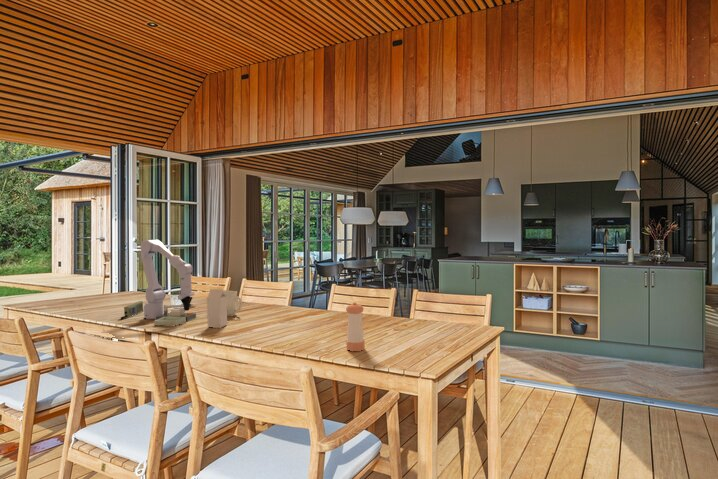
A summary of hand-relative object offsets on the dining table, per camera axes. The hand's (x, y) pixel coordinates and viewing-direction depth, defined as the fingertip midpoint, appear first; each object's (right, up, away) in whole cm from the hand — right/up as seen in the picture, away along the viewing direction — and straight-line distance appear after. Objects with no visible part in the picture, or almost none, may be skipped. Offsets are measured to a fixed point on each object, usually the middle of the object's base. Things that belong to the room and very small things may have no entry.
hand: (186, 310), depth 256 cm
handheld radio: (-37, -6, +13) cm, 40 cm away
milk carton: (+23, -5, -20) cm, 31 cm away
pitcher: (+22, -4, +8) cm, 24 cm away
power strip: (-6, -5, 0) cm, 7 cm away
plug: (-5, -5, -1) cm, 7 cm away
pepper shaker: (+94, -6, -68) cm, 116 cm away
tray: (-4, -5, -12) cm, 14 cm away
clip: (-5, -2, +1) cm, 6 cm away
